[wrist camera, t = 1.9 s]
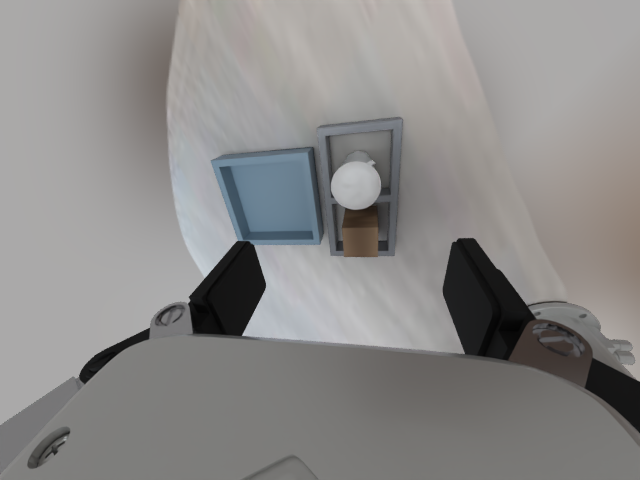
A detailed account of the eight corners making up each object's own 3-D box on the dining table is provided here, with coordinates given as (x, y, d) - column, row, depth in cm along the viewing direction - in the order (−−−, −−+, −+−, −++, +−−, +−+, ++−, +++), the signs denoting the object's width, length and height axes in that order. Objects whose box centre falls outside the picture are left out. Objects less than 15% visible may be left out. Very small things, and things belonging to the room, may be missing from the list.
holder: (399, 117, 25) (402, 119, 23) (392, 245, 34) (394, 256, 31) (320, 125, 27) (316, 128, 25) (333, 246, 35) (330, 255, 33)
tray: (313, 146, 28) (307, 152, 26) (323, 233, 34) (320, 244, 32) (223, 155, 31) (210, 160, 28) (248, 234, 37) (239, 244, 34)
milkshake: (389, 149, 27) (399, 174, 19) (365, 188, 30) (364, 226, 22) (354, 130, 27) (348, 147, 18) (333, 172, 29) (319, 204, 21)
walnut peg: (376, 205, 31) (378, 227, 26) (376, 231, 33) (377, 256, 28) (346, 206, 32) (342, 228, 27) (347, 232, 34) (344, 256, 29)
